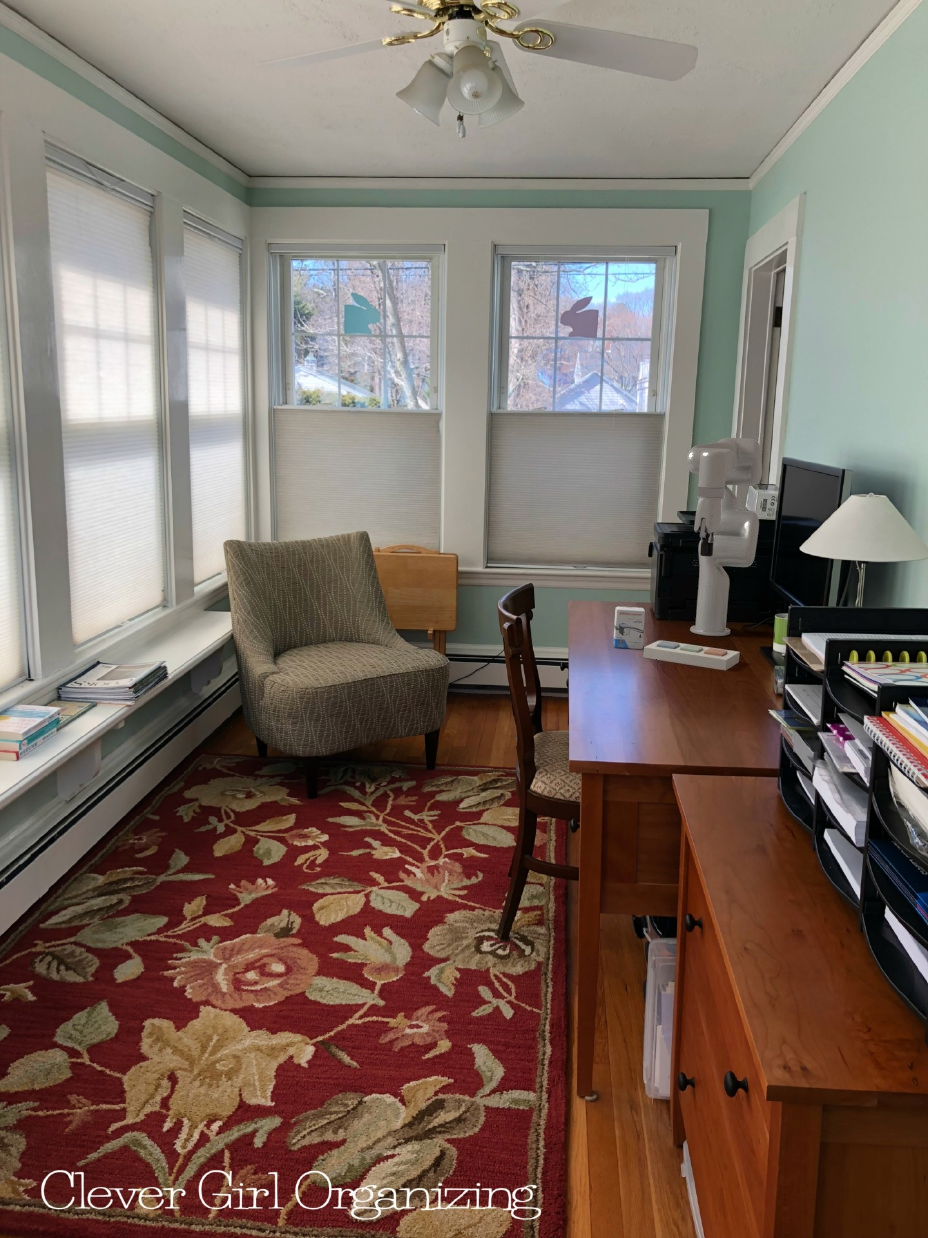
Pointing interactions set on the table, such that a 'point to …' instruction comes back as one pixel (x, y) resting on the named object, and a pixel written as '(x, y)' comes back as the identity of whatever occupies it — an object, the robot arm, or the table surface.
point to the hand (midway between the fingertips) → (706, 555)
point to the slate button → (668, 645)
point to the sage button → (691, 648)
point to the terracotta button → (715, 652)
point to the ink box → (629, 627)
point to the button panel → (691, 656)
